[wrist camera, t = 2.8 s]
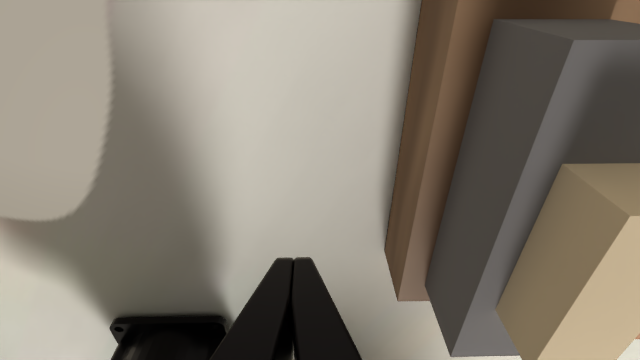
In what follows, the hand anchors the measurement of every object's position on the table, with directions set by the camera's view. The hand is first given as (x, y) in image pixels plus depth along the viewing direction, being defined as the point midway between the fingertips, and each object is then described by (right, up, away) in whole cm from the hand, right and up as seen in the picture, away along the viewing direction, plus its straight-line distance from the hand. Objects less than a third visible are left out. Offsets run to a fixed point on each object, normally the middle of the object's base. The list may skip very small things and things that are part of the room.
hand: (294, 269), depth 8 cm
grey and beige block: (+6, +2, +3) cm, 7 cm away
